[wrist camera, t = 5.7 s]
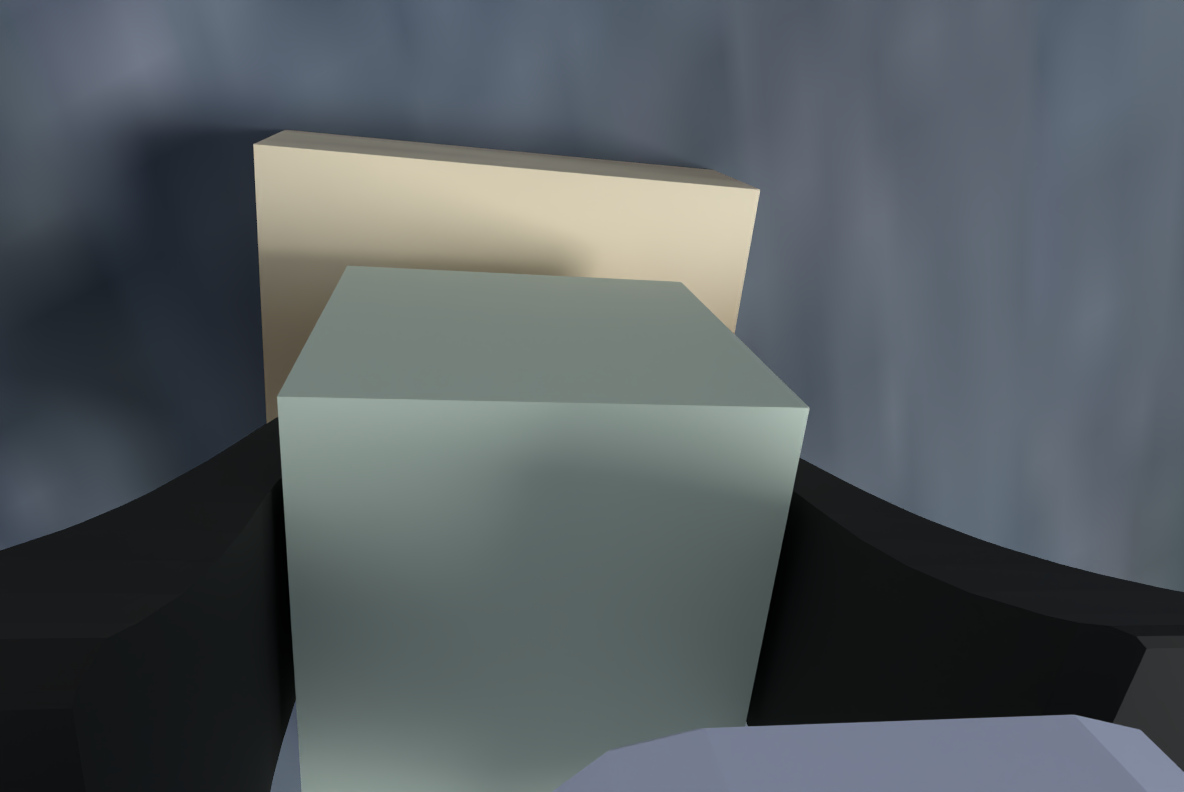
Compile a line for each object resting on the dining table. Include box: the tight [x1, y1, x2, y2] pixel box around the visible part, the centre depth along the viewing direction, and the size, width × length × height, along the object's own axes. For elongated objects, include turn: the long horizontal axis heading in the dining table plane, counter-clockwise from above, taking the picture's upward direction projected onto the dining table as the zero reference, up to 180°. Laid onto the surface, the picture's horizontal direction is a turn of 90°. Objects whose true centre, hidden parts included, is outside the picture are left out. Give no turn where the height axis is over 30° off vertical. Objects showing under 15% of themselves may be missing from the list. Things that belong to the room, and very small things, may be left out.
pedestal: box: [253, 130, 760, 423], centre depth 16 cm, size 8×8×3 cm
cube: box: [277, 266, 809, 792], centre depth 11 cm, size 5×5×5 cm
